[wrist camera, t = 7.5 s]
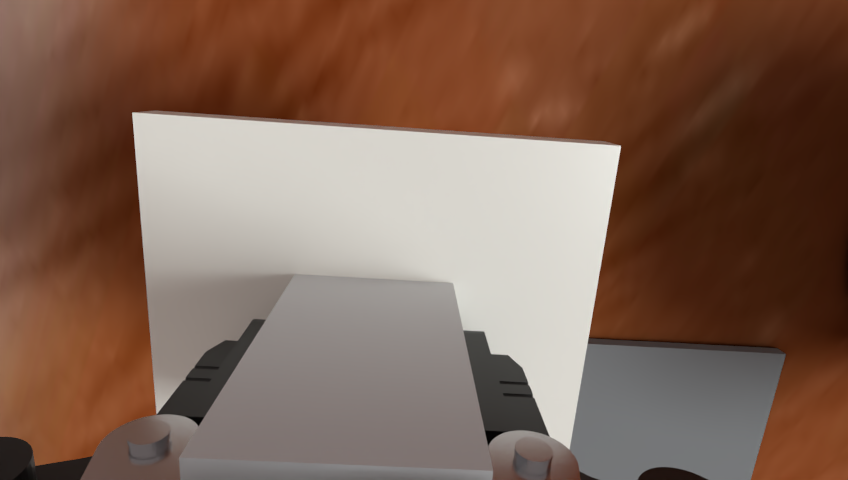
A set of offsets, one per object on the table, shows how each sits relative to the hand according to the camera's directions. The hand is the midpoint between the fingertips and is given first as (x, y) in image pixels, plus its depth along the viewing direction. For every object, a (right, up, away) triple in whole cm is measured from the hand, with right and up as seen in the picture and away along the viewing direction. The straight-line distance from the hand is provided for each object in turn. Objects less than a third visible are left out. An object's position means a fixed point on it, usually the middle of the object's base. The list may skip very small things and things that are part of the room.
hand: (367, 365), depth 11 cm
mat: (+11, -9, +16) cm, 21 cm away
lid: (0, 0, +2) cm, 2 cm away
